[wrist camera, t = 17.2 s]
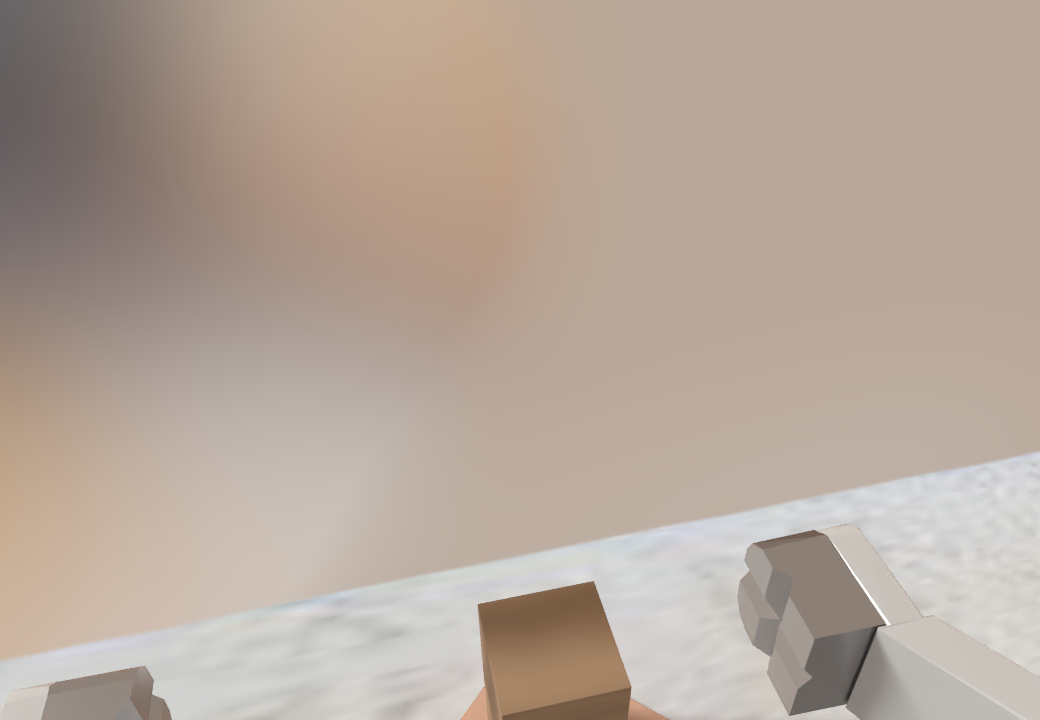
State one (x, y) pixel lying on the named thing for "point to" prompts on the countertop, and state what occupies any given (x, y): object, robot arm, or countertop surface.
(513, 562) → the countertop surface
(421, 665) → the countertop surface
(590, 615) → the walnut block
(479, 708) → the pad
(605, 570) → the countertop surface
